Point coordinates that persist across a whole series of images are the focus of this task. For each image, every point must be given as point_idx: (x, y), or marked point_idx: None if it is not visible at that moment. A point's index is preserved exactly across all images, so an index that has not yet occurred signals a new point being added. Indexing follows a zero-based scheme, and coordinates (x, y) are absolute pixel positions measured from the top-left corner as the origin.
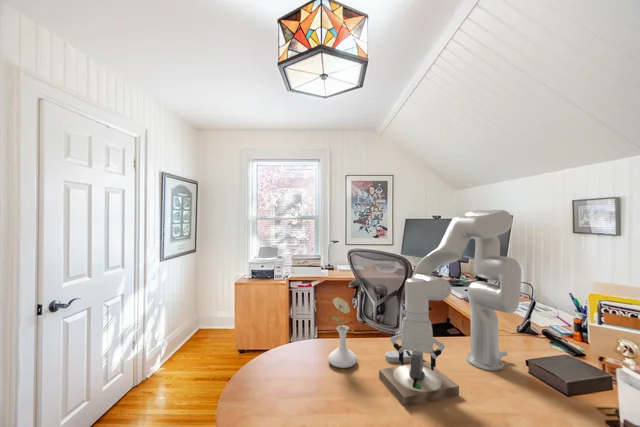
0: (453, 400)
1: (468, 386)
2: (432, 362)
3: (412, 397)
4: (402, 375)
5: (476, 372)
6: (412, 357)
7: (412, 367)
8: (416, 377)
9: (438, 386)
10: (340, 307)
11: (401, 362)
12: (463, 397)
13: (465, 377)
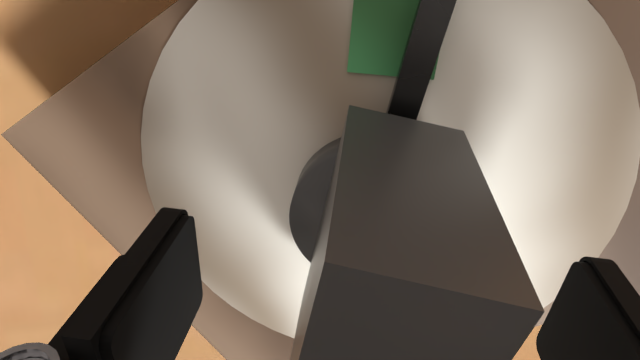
0: (88, 24)
1: (20, 221)
2: (117, 284)
3: None
4: (523, 199)
5: (6, 349)
6: (484, 349)
7: (464, 192)
8: (394, 119)
9: (168, 78)
10: None
11: (624, 289)
12: (26, 86)
13: (52, 302)
